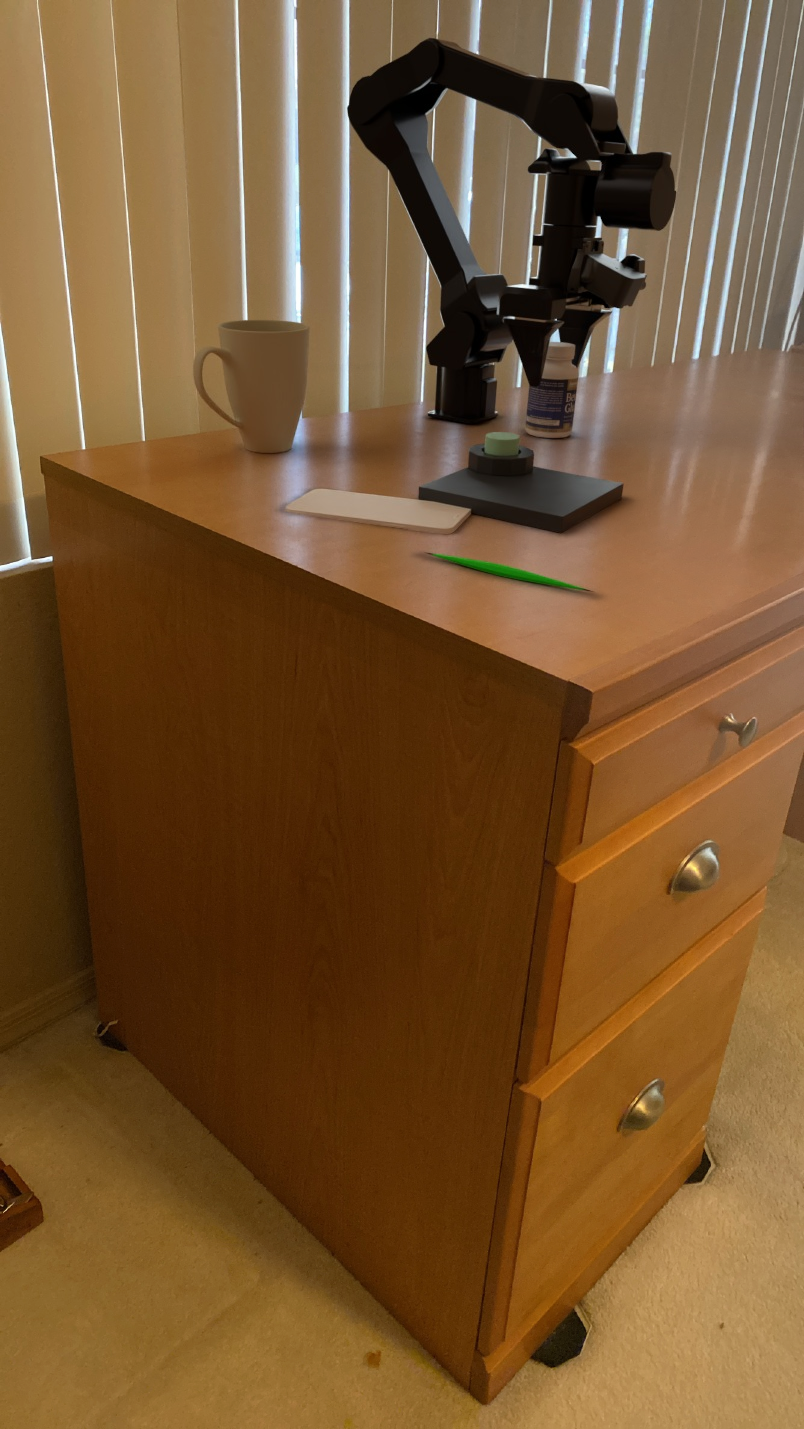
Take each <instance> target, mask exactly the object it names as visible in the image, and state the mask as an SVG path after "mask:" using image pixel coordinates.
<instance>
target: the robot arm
mask: <svg viewBox="0 0 804 1429" xmlns="http://www.w3.org/2000/svg"><path fill="white" fill-rule="evenodd" d="M448 90H450V91H452V92H455V93H457V94H461V95H463V96H465V97H468V98H470V99H473V100H475V101H478V102H480V103H483V104H485V105H488V106H490V107H493V108H495V109H497V110H500V111H503V112H505V113H507V114H510V115H512V116H514V117H516V118H517V119H519V120H520V121H521V122H523V123H524V125H525V126H526V127H527V128H528V129H529V130H530V131H531V132H532V133H533V134H535V135H536V136H537V137H539V138H541V139H542V140H543V141H545V142H546V143H548V144H549V145H551V146H552V147H554V148H544V149H543V151H542V153H541V154H540V155H539V156H538V157H537V158H536V159H535V160H533V162H531V164H529V165H528V166H527V173H528V174H530V175H545V183H544V184H545V186H544V194H543V195H544V196H543V204H542V206H543V207H542V216H541V227H540V234H533V235H532V246H533V247H538V248H539V250H538V259H537V269H536V270H537V273H536V276H533V277H529V278H528V284H522V283H521V284H513V285H509V284H508V281H507V279H506V277H505V275H504V274H503V273H498V274H497V273H493V274H488V273H486V272H485V271H484V270H483V269H482V268H481V266H480V264H479V262H478V261H477V258H476V255H475V254H474V251H473V250H472V247H471V245H470V243H469V240H468V238H467V236H466V234H465V231H464V229H463V227H462V224H461V223H460V220H459V218H458V216H457V214H456V211H455V209H454V207H453V204H452V202H451V200H450V198H449V195H448V194H447V191H446V189H445V186H444V184H443V182H442V179H441V178H440V177H441V176H439V173H438V171H437V168H436V167H435V164H434V162H433V160H432V156H431V154H430V152H429V148H428V139H429V122H428V119H427V118H428V117H427V115H429V114H430V113H431V112H433V111H434V110H435V109H436V108H437V107H438V106H439V103H440V102H441V101H442V99H443V97H444V96H445V94H446V92H447V91H448ZM346 112H347V117H348V120H349V123H350V125H351V127H352V129H353V130H354V132H355V134H356V135H357V137H358V138H359V140H360V141H361V143H362V144H363V146H364V148H366V150H367V151H369V153H370V154H371V155H372V156H374V157H375V158H376V159H377V160H378V161H379V162H380V163H381V164H382V165H384V167H385V168H386V169H387V170H388V172H389V174H390V176H391V178H392V181H393V183H394V185H395V188H396V190H397V192H398V194H399V197H400V199H401V201H402V203H403V206H404V208H405V210H406V212H407V214H408V216H409V219H410V222H411V223H412V225H413V227H414V230H415V232H416V234H417V236H418V239H419V241H420V244H421V245H422V247H423V250H424V252H425V254H426V256H427V258H428V260H429V261H428V262H429V263H430V265H431V268H432V270H433V272H434V274H435V276H436V279H437V281H438V283H439V286H440V287H439V288H440V300H439V301H440V305H439V306H440V307H439V313H440V317H441V321H442V324H443V328H442V329H441V330H439V332H438V333H437V334H436V335H435V336H434V337H433V338H432V339H431V340H430V341H429V343H428V344H427V345H426V347H425V350H426V355H427V360H428V364H429V365H430V366H433V367H436V375H435V376H436V377H435V396H434V397H435V398H434V409H433V410H430V411H428V412H427V417H430V418H435V419H440V420H441V419H442V420H447V421H452V422H457V423H458V422H459V423H465V424H470V425H471V424H472V425H473V424H478V423H480V422H483V421H486V420H489V419H492V418H495V417H497V416H499V412H498V411H496V404H497V403H496V402H497V391H498V390H497V389H498V379H497V378H495V370H496V365H495V364H493V363H497V364H499V363H501V362H502V361H503V359H504V356H505V353H506V351H507V348H508V346H509V345H511V343H512V342H513V344H514V346H515V349H516V351H517V354H518V356H519V360H520V363H521V365H522V368H523V371H524V374H525V376H526V379H527V382H528V386H529V385H530V386H534V387H538V386H539V385H540V382H541V379H542V375H543V371H544V366H545V361H546V356H547V352H548V347H549V342H551V338H552V336H553V335H554V334H555V333H556V332H557V331H558V338H559V342H563V343H570V344H574V345H575V355H574V359H572V362H571V363H572V364H573V365H574V366H576V367H577V369H578V370H579V366H580V364H581V361H582V359H583V356H584V353H585V351H586V348H587V346H588V343H589V342H590V339H591V336H592V335H593V331H594V330H595V327H596V326H597V325H599V324H600V323H601V322H602V321H603V320H605V319H606V318H607V317H609V316H611V315H612V313H613V310H610V309H614V308H615V309H618V310H620V309H623V308H624V307H630V308H631V307H633V305H634V303H635V301H636V299H637V297H638V294H639V292H640V291H643V290H644V289H645V288H646V287H647V283H646V279H647V277H648V274H647V273H646V259H644V258H643V257H641V256H639V255H637V254H635V253H634V254H633V253H632V254H627V255H626V256H625V257H624V258H622V260H620V259H618V258H617V257H614V258H612V257H610V256H609V255H607V254H604V249H605V248H604V247H605V241H604V240H603V237H602V236H596V234H597V228H598V227H597V225H598V218H600V220H601V223H602V225H603V226H604V227H606V228H609V229H625V230H641V231H654V232H659V231H660V232H661V231H662V230H664V229H665V228H666V226H667V225H668V224H669V222H670V220H671V218H672V215H673V212H674V209H675V205H676V199H677V190H676V183H675V182H676V180H675V174H674V170H673V169H672V167H671V165H672V164H671V163H672V153H671V152H667V151H650V152H646V153H634V152H633V150H632V148H631V145H630V144H629V141H628V139H627V136H626V135H625V132H624V130H623V128H622V126H621V124H620V122H619V107H618V104H617V100H616V96H615V94H614V93H613V92H612V91H611V89H608V88H607V87H606V86H601V85H595V84H590V83H586V82H581V81H574V80H569V79H558V78H550V77H539V76H536V75H533V74H531V73H528V72H525V71H523V70H521V69H518V68H515V67H512V66H509V65H507V64H504V63H502V62H499V61H496V60H494V59H492V58H489V57H486V56H483V55H482V54H479V53H476V52H473V51H470V50H467V49H465V48H462V46H460V45H459V44H458V43H456V42H455V41H449V40H445V39H440V38H436V37H428V38H426V39H423V40H422V41H421V42H419V43H418V44H417V45H416V46H415V47H413V48H412V49H411V50H410V51H409V52H407V53H405V54H403V55H401V56H400V57H399V56H398V57H397V58H396V59H393V60H392V61H390V62H388V63H385V64H384V65H382V66H380V67H379V68H378V69H376V70H375V71H374V72H373V73H372V74H370V75H366V76H365V75H364V76H362V77H361V78H360V79H358V80H357V81H356V83H355V84H354V85H353V87H352V89H351V92H350V95H349V100H348V105H347V107H346ZM558 149H559V150H568V151H570V153H571V154H572V155H573V157H572V156H561V153H559V151H558ZM589 162H598V163H600V169H599V170H598V169H591V167H590V164H589ZM602 306H603V309H602ZM608 309H609V310H608Z"/></svg>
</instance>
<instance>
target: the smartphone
mask: <svg viewBox="0 0 804 1429" xmlns="http://www.w3.org/2000/svg"><path fill="white" fill-rule="evenodd" d="M285 512H286V513H290V514H294V515H295V514H296V515H301V516H309V517H314V518H315V517H317V518H323V519H331V520H339V521H345V522H351V523H361V524H365V525H375V526H381V527H389V528H394V529H395V528H396V529H404V530H410V531H416V532H417V531H418V532H424V533H432V534H440V535H449V534H452V533H454V532H455V531H456V530H457V529H458V528H459V527H460V526H461V525H462V524H463V523H464V522H465V521H466V520H467V519H468V518H469V517H470V516H471V515H472V513H471V509H468V508H463V507H458V506H453V505H448V504H443V503H438V502H433V501H425V500H418V499H416V498H415V499H414V498H407V497H399V496H389V495H380V494H372V493H366V492H365V493H364V492H363V493H362V492H355V491H346V490H338V489H330V488H314V489H312V490H309V491H308V492H307V493H305V494H303V495H302V496H299V497H298V498H297V499H295V500H294V501H291V502H290V503H289V504H287V505H286V506H285Z"/></svg>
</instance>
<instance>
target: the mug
mask: <svg viewBox="0 0 804 1429" xmlns="http://www.w3.org/2000/svg"><path fill="white" fill-rule="evenodd" d="M217 329H218V338H219V346H220V347H217V346H205V347H201V348H200V349H199V350H198V351H197V352H196V354H195V356H194V358H193V363H192V364H193V365H192V375H193V381H194V385H195V388H196V391H197V392H198V395H199V396H200V398H201V399H202V400H203V401H204V402H205V404H206V405H207V406H208V407H209V408H210V409H211V410H213V411H214V412H215V413H216V414H217V415H218V416H219V417H221V418H222V419H224V420H225V421H226V422H227V423H229V424H230V425H232V426H234V427H236V428H237V429H238V431H239V434H240V437H241V440H242V443H243V446H244V448H245V449H246V450H247V451H249V452H253V453H260V454H273V453H274V454H277V453H283V452H288V451H289V450H291V449H292V447H293V443H294V441H295V436H296V433H297V429H298V426H299V422H300V419H301V415H302V411H303V407H304V402H305V399H306V393H307V382H308V371H309V370H308V368H309V365H308V364H309V346H310V325H308V324H305V323H302V322H297V321H291V320H290V321H289V320H280V319H279V320H278V319H241V320H240V319H239V320H233V321H232V320H231V321H225V322H224V321H223V322H220V323H219V324H218V325H217ZM209 354H214V355H216V356H217V357H218V358H220V360H221V361H222V371H223V377H224V386H225V391H226V396H227V400H228V402H229V406H230V409H231V412H232V414H233V418H232V417H231V416H229V415H228V413H226V412H225V411H224V410H223V409H222V408H221V407H219V405H217V404H216V402H215V401H214V400H212V398H211V397H210V396H209V394H208V393H207V390H206V388H205V385H204V380H203V370H204V362H205V359H206V358H207V357H208V355H209Z"/></svg>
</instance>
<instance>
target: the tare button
mask: <svg viewBox="0 0 804 1429" xmlns="http://www.w3.org/2000/svg"><path fill="white" fill-rule="evenodd" d="M520 440H521V437H520V435H518V434H517V433H514V432H507V431H492V432H488V433H486V434H485V439H484V444H485V451H484V452H485V453H487V454H492V455H498V456H511V455H518V452H519V445H520Z"/></svg>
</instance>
